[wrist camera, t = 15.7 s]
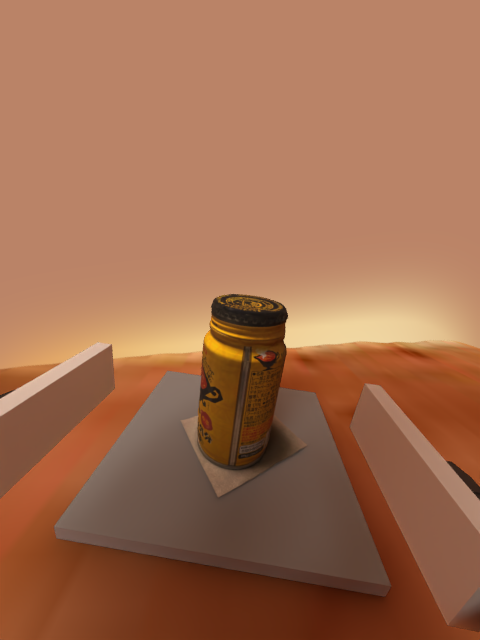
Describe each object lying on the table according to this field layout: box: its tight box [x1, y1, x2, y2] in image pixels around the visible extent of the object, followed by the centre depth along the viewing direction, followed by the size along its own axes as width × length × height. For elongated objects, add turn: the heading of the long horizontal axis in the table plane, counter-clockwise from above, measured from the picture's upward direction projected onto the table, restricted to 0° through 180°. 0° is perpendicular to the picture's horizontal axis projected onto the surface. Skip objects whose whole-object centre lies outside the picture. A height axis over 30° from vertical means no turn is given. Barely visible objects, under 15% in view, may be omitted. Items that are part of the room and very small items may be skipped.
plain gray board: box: [54, 371, 391, 597], centre depth 19 cm, size 18×16×1 cm
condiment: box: [181, 294, 307, 497], centre depth 17 cm, size 7×8×12 cm
